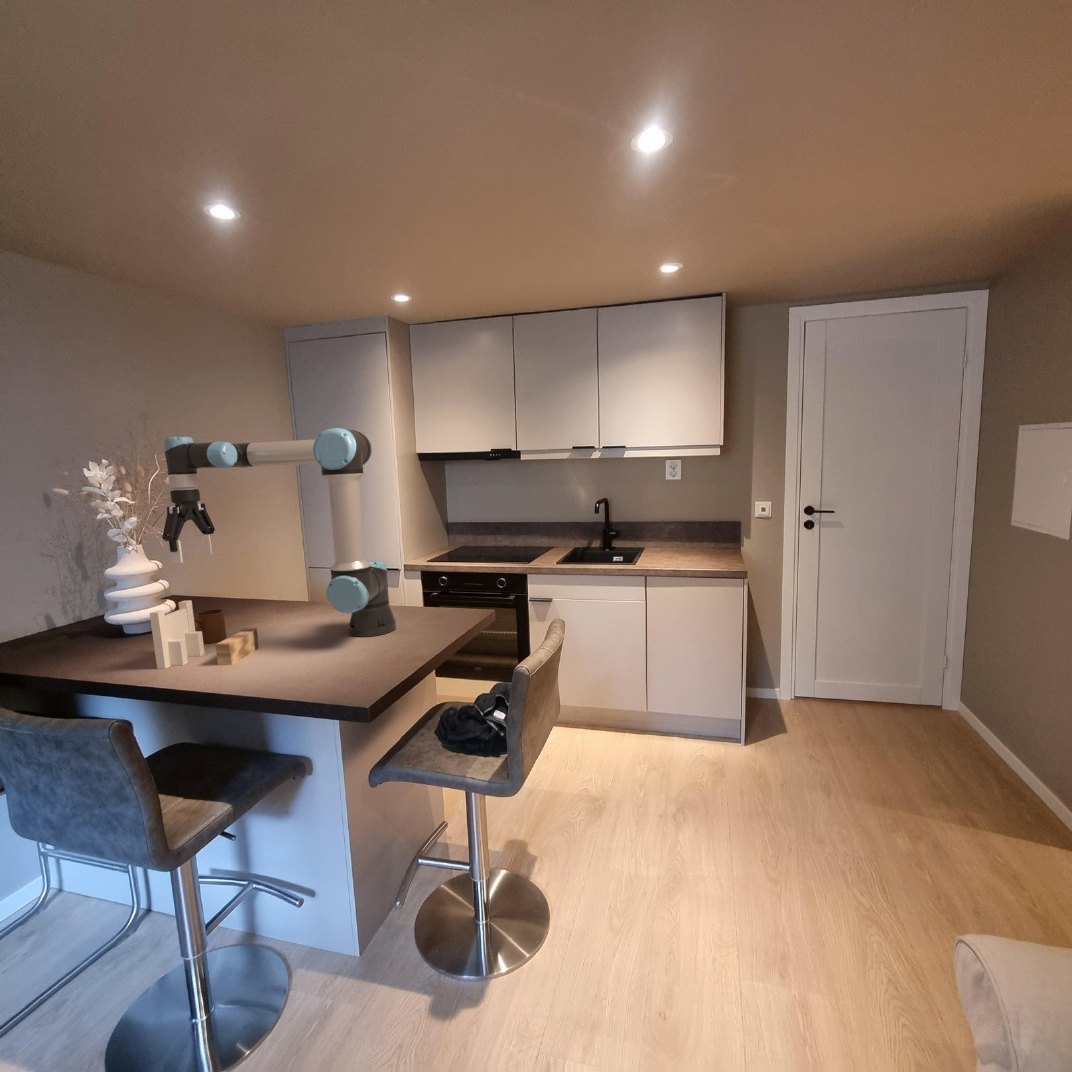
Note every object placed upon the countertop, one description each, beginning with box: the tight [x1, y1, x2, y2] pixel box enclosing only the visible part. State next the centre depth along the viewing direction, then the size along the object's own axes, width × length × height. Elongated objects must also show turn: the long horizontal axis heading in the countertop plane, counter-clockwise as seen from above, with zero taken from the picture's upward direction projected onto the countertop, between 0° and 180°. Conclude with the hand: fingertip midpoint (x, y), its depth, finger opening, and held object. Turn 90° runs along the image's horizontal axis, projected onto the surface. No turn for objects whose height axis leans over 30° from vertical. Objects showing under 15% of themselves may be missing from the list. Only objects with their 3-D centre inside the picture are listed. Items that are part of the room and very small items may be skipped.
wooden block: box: [215, 627, 260, 666], centre depth 165 cm, size 14×4×6 cm, turn 177°
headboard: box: [149, 599, 206, 670], centre depth 164 cm, size 6×14×16 cm, turn 177°
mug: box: [194, 608, 227, 644], centre depth 180 cm, size 12×8×9 cm, turn 159°
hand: (193, 558), depth 173 cm, fingers open, 13 cm apart
